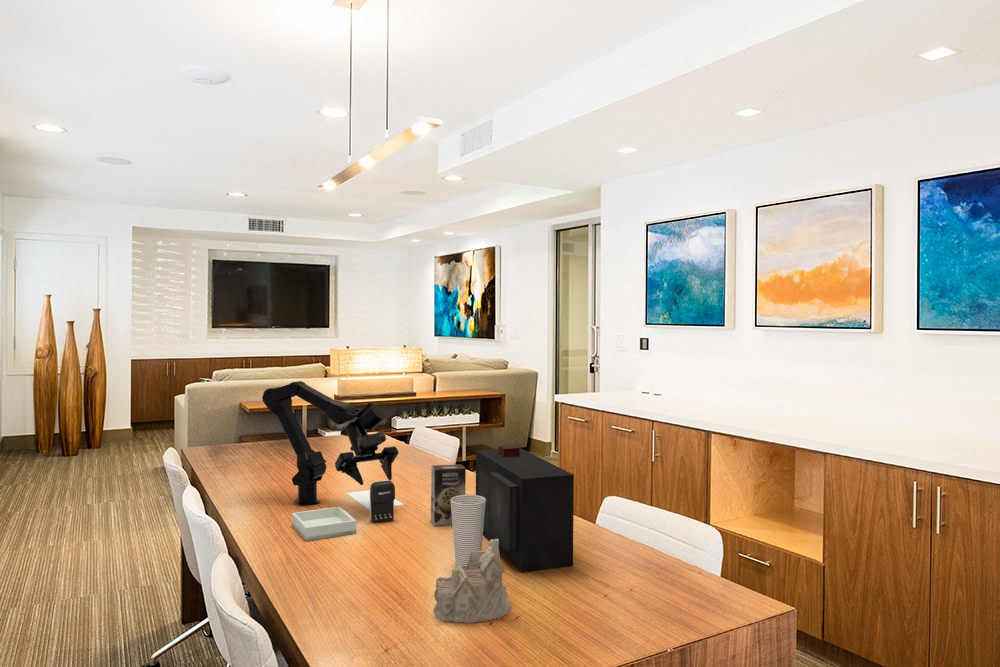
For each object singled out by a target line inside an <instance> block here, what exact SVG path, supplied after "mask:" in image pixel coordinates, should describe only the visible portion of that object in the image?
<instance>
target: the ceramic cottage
mask: <svg viewBox="0 0 1000 667" xmlns="http://www.w3.org/2000/svg"><path fill="white" fill-rule="evenodd" d="M498 543H499V540H498V539H491V540H490V541H488V547H487V549H486V550H482V551H472V552H471V553H470V557H469V562H468V565H467V568H466V570H465V569H464V567H461V565H460V564H458V565H456V567H455V569H452V570H451V576H448V577H441V576H439V577H437V579H436V582H435V590H434V596H433V598H434V600H435V601H436V603H435V604H434V606H433V613H434V612H435V613H434V616H436V617H435V619H436V618H437V619H436V620H438V619H440V620H443V621H442V622H451V621H454V622H453V623H462V622H464V623H465V624H472V623H482V622H485V621H486V622H488V620H489V621H493V620H492V619H494V620H496V618H497V619H501V618H503V617H505V616H506V615H507V614H508V613H509V612H510V611H511V609H512V608H511V606H512V605H511V602H510V600H509V598H508V591H507V585H506V584H504V583H503V574H504V571H505V568H504V566H503V565H502V564H501V560H500V552H499V547H498V546H499V545H498ZM510 608H511V609H510ZM509 610H510V611H509ZM506 613H507V614H506ZM505 614H506V615H505ZM504 615H505V616H504ZM502 616H503V617H502ZM500 617H501V618H500ZM440 620H439V621H440ZM445 620H446V621H445Z"/></svg>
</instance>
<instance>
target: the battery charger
mask: <svg viewBox="0 0 1000 667" xmlns="http://www.w3.org/2000/svg"><path fill="white" fill-rule="evenodd" d="M395 500H396V486H395V484H394V483H393V481H392V480H389V479H388V480H387V479H386V480H383V479H382V480H378V481H377V480H375V481H373V482H371V484H370V486H369V508H370V509H369V511H370V512H369V514H370V515H369V518H370V521H371V522H373V523H383V522H389V521H393V520H394V519H395V518H394V517H395V515H394V514H395V513H394V506H395V505H394V502H395Z"/></svg>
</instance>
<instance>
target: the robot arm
mask: <svg viewBox="0 0 1000 667" xmlns="http://www.w3.org/2000/svg"><path fill="white" fill-rule="evenodd" d="M294 397H298V398H300V399H301V400H303V401H305V402H306V403H308V404H310V405H312V406H314V408H318V409H319V410H321V411H322V412H324V413H325V415H326V417H327V418H328V419H329V420H331V422H333V423H334V424H336V425H339V426H341V425H344V424H347V423H348V424H347V425H346V426H343V427H342V430H341V431H340V434H339V435H341V436H344V437H347V438H348V439H349V440H348V441H349V442H350V445H351V446H350V451H349V452H348V451H347V452H340V453H339V455H338V457H337V459H336V461H335V462H334V464H335V465H334V467H335V470H336V471H337V472H341V473H342V474H346V475H347V476H349V477H350V478H352V479H353V480H354V481H356V483H358V484H359V485H360V486H363V485H364V480H363V477H362V475H361V472H360V469H359V467H358V463H366V462H373V461H379V463H380V464H381V465H380V468H382V471H383V472H384V474H385V476H386V478H387V479H388V480H390V481H392V479H393V473H392V472H393V471H392V469H393V468H392V465H393V463H394V462H395V461H396V458H397V457H398V455H399V453H400V452H399V450H398V448H397V446H394V445H393V446H387V447H385V446H384V447H383V449H382V451H381V452H376V451H378V449H379V447H378V446H380V445H382V444H383V443H384V442H386V441H387V436H386V434H385V432H384V431H383V430H381V431H378V432H376V433H369V434H368V432H367V430H368V431H369V430H370V431H372V430H374V429H375V428H377V427H378V425H380V424H381V423H382V422H383V421H384V420H385V419H386V418H387V415H386V412H385V410H384V409H383V408H381V406H379V405H377V404H375V403H374V401H371V402H370V401H369V403H367V404H366V405H365V407H363V409H359V408H356V407H355V405H353V404H352V403H349V402H346V401H343V400H337V399H334V398H331V397H329V396H327V395H326V394H324V393H323V392H320V391H319V390H317V389H315V388H313V387H312V386H310V385H308V384H307V383H306V382H304V381H301V380H299V381H291V382H290V383H289V384H285V385H282V386H276V387H270V388H266V389H265V390H264V391H263V395H262V396H261V400H262V402H263V403H264V405H265V406H266V409H268V410H269V411H270V412H271V413H272V414H274V415H275V416H276V417H277V419H278V421H279V423H280V425H281V427H282V428H283V431H284V433H285V435H286V437H287V439H288V440H289V443H290V445H291V446H292V449H293V451H294V453H295V454H296V455H295V456H296V468H297V471H298V472H296V474H295V475H294V476H293V477H292V478H291V481H292V485H293V486H297V498H295V499H294V502H295V503H296V504H297V505H298V506H306V505H314V504H320V503H321V501H320V500H319V499H318V494H317V493H318V485H317V484H318V482H319V481H322V479H323V476H324V475H325V473H326V470H327V464H326V463H327V460H326V459H325V458H324V456H323V453H322V451H321V450H318V451H315V450H314V449H313V448H312V447H311V445H310V443H309V441H308V439H307V437H306V435H305V434H304V431H303V429H302V427H301V425H300V423H299V422H298V419H297V417H296V415H295V413H294V410H293V409H292V408H293V400H292V399H293V398H294Z"/></svg>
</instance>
